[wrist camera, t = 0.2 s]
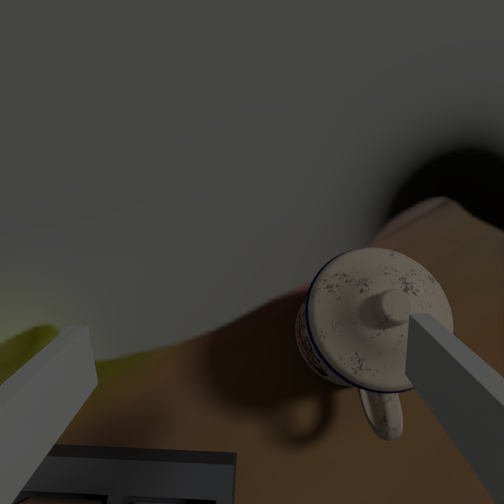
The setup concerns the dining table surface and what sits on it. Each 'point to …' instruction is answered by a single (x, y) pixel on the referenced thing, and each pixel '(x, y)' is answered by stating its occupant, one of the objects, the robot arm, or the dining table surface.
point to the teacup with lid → (368, 327)
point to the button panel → (133, 475)
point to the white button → (149, 503)
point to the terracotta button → (59, 501)
